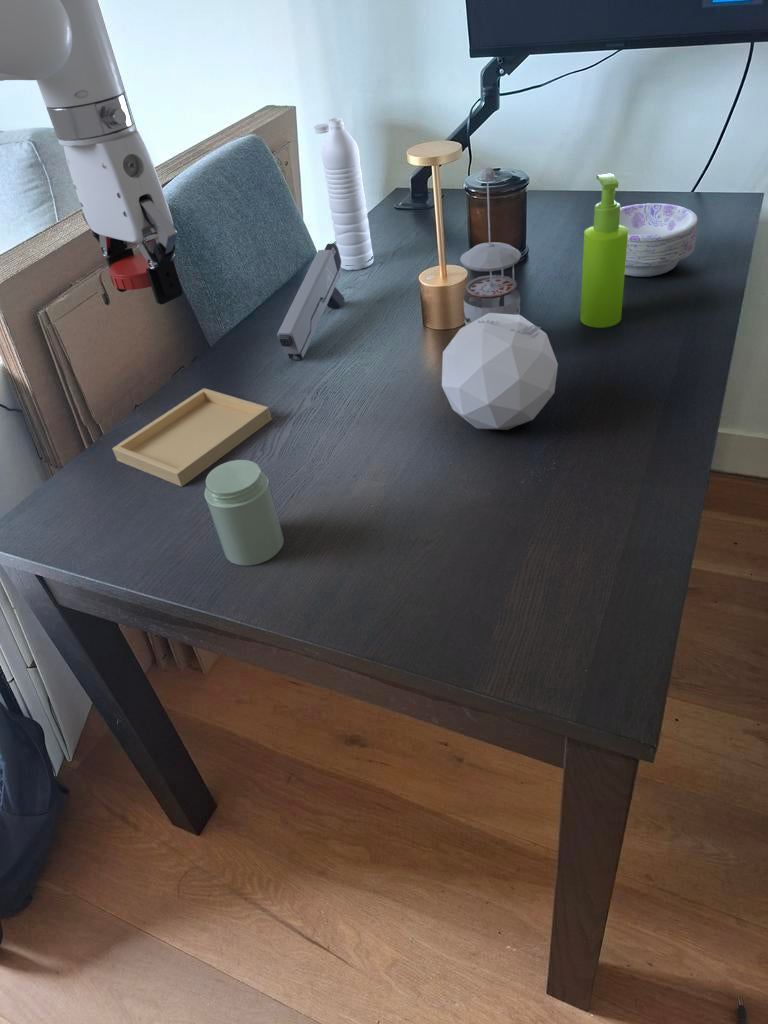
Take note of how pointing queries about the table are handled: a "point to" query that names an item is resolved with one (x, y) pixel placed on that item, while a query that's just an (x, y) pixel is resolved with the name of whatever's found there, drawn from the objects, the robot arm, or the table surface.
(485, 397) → the geodesic sphere
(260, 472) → the jam jar
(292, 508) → the table surface
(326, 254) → the gun
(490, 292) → the french press
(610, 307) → the soap dispenser
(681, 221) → the paper bowls
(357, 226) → the water bottle
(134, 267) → the jar lid
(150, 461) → the tray
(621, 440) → the table surface
